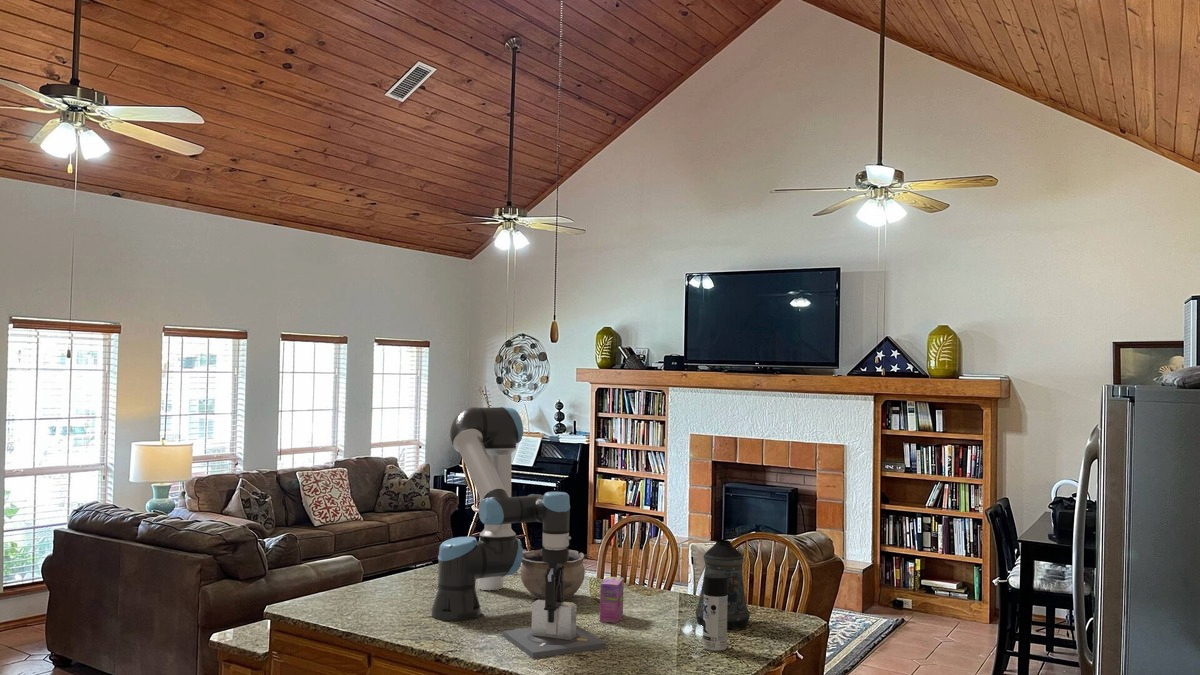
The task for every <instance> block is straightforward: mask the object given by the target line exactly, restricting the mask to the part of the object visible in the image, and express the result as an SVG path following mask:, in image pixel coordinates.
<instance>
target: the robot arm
mask: <svg viewBox="0 0 1200 675" xmlns="http://www.w3.org/2000/svg"><path fill="white" fill-rule="evenodd" d="M523 436H524V425H523V420H522V417H521V415H520V414H519V411H517V410H516V409H515V408H512V407H504V406H500V407H475V406H474V407H469V408H465V409H464V410H462V411H460V412H459V413H458V414H457V415H456V417H455V418H454V419H453V421H452V423H451V425H450V429H449V438H450V442H451V445H452V446H453V449H454V450H455V451H456V452H458V454H459V453H460V456H461V458H462V461H463V462H464V465H465V468H466V469H467V471H468V473H469V474H468V475H469V476H470V478H471V480H472V482H473V485H474V487H475V490H476V492H477V494H478V496H479V498H480V502H479V505H478V514H479V516H478V517H479V519H480V520H479V521H480V522H481V523H482V524H483V525H484V528H483V530H482V531H481V532H480V533H479V538H480V541H479V540H477V538H476V537H474V536H458V537H453V538H449V539H447V540H445V541H443V542H442V543H441V544H440V545H439V550H438V556H437V560H438V571H437V572H438V575H437V576H438V577H437V578H438V580H437V592H436V595H435V598H434V600H433V603H432V605H431V617H433V618H435V619H438V620H442V621H466V620H472V619H475V618H478V617H479V616H480V615H481V604H480V600H479V597H478V593H477V591H476V581H477V580H478V579H480V578H489V577H498V576H500V577H503V578H504V577H506V576H513V575H514V574H516V573H517V572H518V571H519V569H520V567H521V566H522V557H523V553H524V551H523V545H522V541H521V539H519V538H517V533H516V532H515V531H514V530H513V529H512V524H524V523H525V524H526V523H542V544H541V545H542V548H541V549H542V561H543V562H545V563H548V564H549V568H548V569H547V574H546V575H545V581H546V588H545V608H544V610H547V631H546V634H556V632H557V610H556V602H562V603H563V602H564V600H563V585H564V568H565V567H564V566H562V563H566V562H568V560H569V550H570V549H569V548H568V547H569V546H570V542H569V541H570V540H571V539H572V537H571V536H570V515H571V512H570V511H571V504H570V495H569V494H568V493H567V492H565V491H547V492H545V493H544V494H543V495H542V494H539V493H537V494H535V493H532V494H528V495H523V496H512V454H513V453H514V452H515V451H516V450H517V444H518V443H521V441H522V440H523Z"/></svg>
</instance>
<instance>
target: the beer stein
mask: <svg viewBox="0 0 1200 675" xmlns="http://www.w3.org/2000/svg"><path fill="white" fill-rule="evenodd" d="M744 560H745V557H744V556H743V555H742V553H741V552H740V551H739V550H738V549H737V548H735V546H733V545H732V543H731V540H728V539H718V540H716V542H715V544H714V545H712V547H710V548H709V549H708V550H707V551H706V552H705V553H704V554H703V561H704V564H705V566H704V573H703V577H702V585H701V590H700V596H699V600H698V603H697V606H696V609H695V618H696V622H698V623H697V624H698V625H699V626H700V625H702V626H703V607H704V576H705V575H706V574H722V575H726V576H727V577H728V599H727V631H738V630H743V629H744V630H745V629H746V628H747V627H748V626H749V620H750V617H751V613H750V610H749V609H748V607H747V601H746V595H745V594H746V593H745V585H744V576H743V571H742V566H743V563H744ZM702 626H701V627H702Z"/></svg>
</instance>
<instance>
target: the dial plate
mask: <svg viewBox="0 0 1200 675" xmlns="http://www.w3.org/2000/svg"><path fill="white" fill-rule="evenodd" d="M531 632H532V627H529V628H528V627H526V628H519V629H509V630H502V637H503V638H505V639H506V640H507V641H508V642H510V643H511V644H513V645H514V646H515V647H517V648H518V649H520V650H521V651H522V652H524V653H525V654H526V655H527V656H528V657H530V658H532V659H537V658H544V657H551V656H559V655H560V656H561V655H567V654H575V653H582V652H591V651H596V650H604V649H607V642H605V641H604V640H602V639H600V638H599V637H597V636H596V635H593V634H592V633H591V632H588V631H587V630H585V629H583V628H581V627H580V626H578V624H576V637H575V638H573V639H572V640H565V639H557V638H550V637H542V636H535V635H531Z"/></svg>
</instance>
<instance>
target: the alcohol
mask: <svg viewBox="0 0 1200 675" xmlns="http://www.w3.org/2000/svg"><path fill="white" fill-rule="evenodd" d="M478 541H480V537H479V540H478ZM477 587H478V589H479V590H480V589H481V590H480V591H483V590H489V591H488V592H491V591H490V590H497V591H500V590H499V589H501V588H503V587H504V577H500V576H498V577H489V578H480V579H477ZM501 590H502V589H501Z"/></svg>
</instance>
